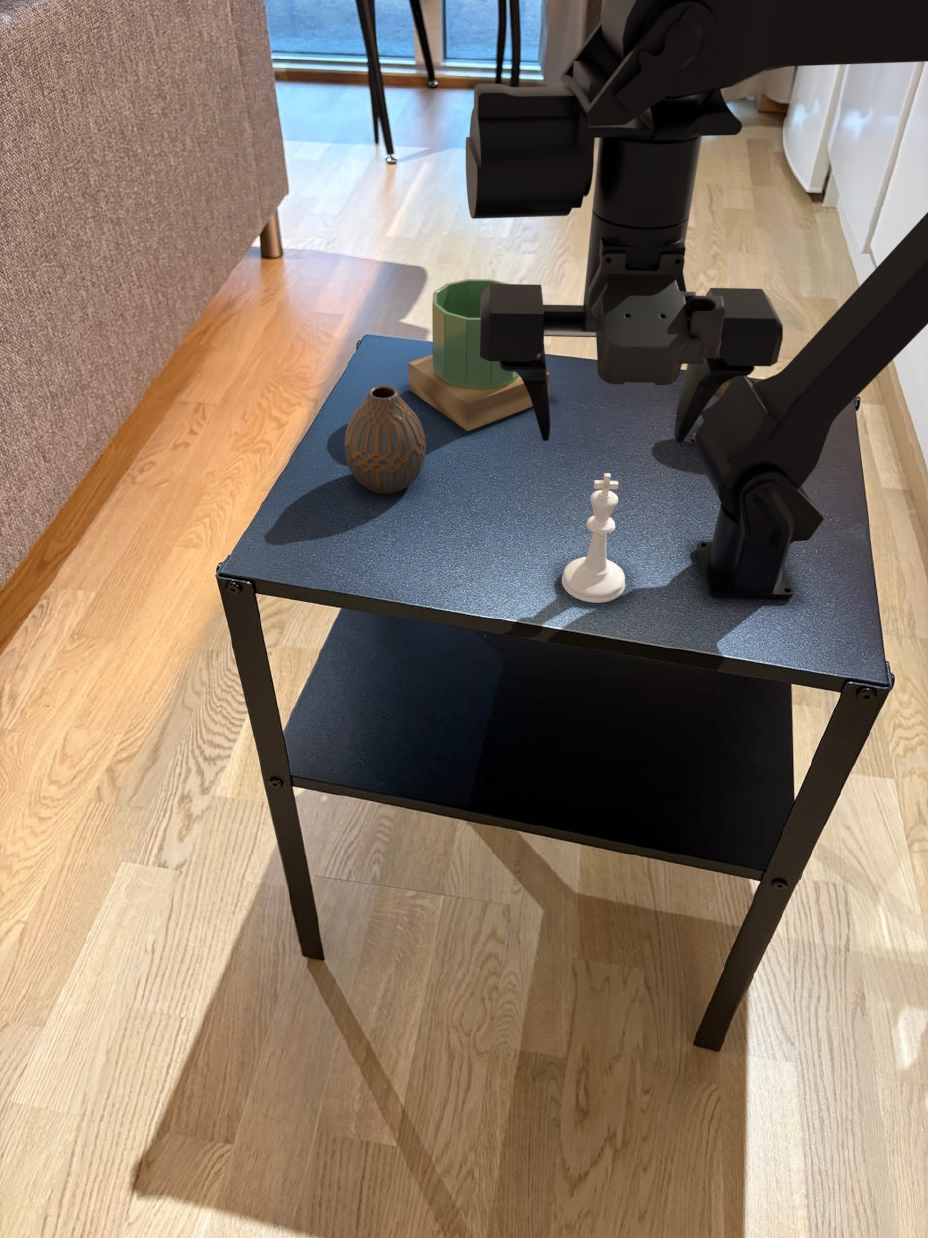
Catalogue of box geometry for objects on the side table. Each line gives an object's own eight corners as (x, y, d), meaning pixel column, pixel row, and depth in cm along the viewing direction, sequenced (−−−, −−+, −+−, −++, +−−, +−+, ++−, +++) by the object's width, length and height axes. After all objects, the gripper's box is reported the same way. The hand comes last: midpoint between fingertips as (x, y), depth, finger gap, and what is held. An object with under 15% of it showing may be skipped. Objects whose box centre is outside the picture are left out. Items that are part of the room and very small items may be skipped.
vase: (430, 462, 91) (429, 374, 85) (420, 506, 85) (419, 415, 80) (355, 457, 91) (349, 369, 85) (340, 500, 86) (333, 410, 80)
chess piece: (560, 561, 80) (571, 454, 73) (622, 563, 80) (638, 456, 73) (562, 602, 76) (574, 493, 70) (627, 604, 76) (645, 495, 70)
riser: (548, 400, 99) (550, 373, 97) (467, 431, 95) (468, 403, 93) (487, 362, 105) (488, 335, 103) (408, 389, 100) (407, 362, 98)
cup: (524, 390, 95) (529, 320, 90) (431, 388, 95) (431, 318, 90) (521, 347, 101) (525, 279, 96) (434, 345, 101) (434, 278, 96)
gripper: (482, 263, 53) (476, 504, 64) (833, 269, 53) (770, 509, 64) (483, 190, 62) (477, 414, 72) (786, 195, 62) (737, 418, 72)
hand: (611, 439), depth 70 cm, fingers open, 9 cm apart
